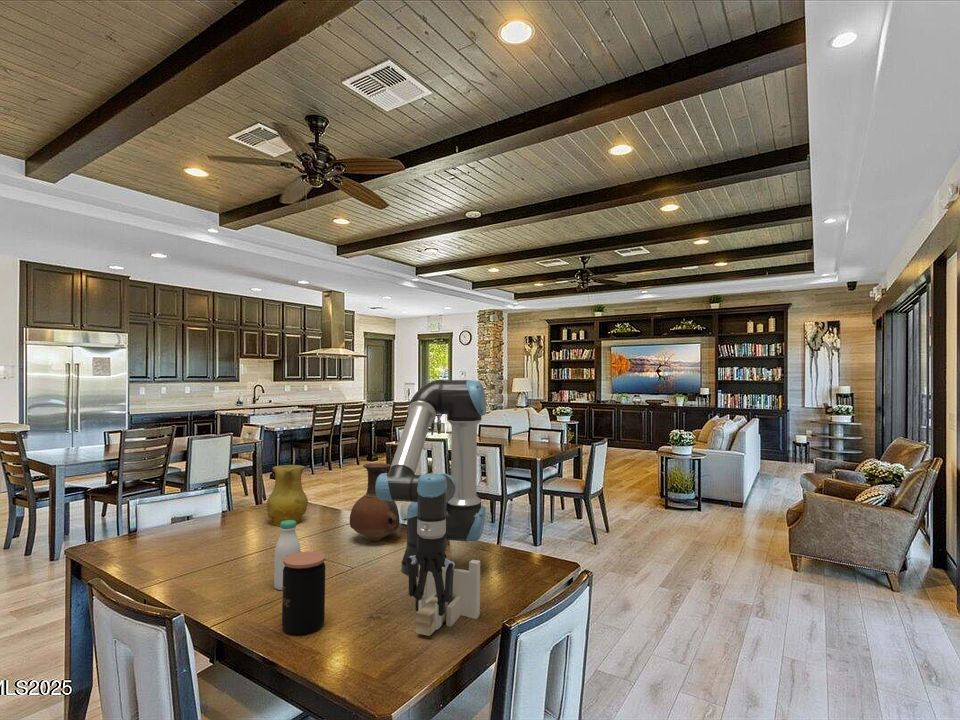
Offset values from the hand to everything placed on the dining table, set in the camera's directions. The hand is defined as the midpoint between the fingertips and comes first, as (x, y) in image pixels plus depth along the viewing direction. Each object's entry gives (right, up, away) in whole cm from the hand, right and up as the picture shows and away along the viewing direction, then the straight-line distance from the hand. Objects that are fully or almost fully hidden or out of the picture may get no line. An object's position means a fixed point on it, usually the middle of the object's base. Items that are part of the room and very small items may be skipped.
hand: (429, 625), depth 139 cm
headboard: (+3, -2, +8) cm, 9 cm away
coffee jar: (-33, -1, +2) cm, 34 cm away
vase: (-29, -3, +75) cm, 80 cm away
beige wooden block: (+1, -1, +3) cm, 3 cm away
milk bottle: (-47, -2, +28) cm, 55 cm away
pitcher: (-72, -3, +99) cm, 123 cm away
